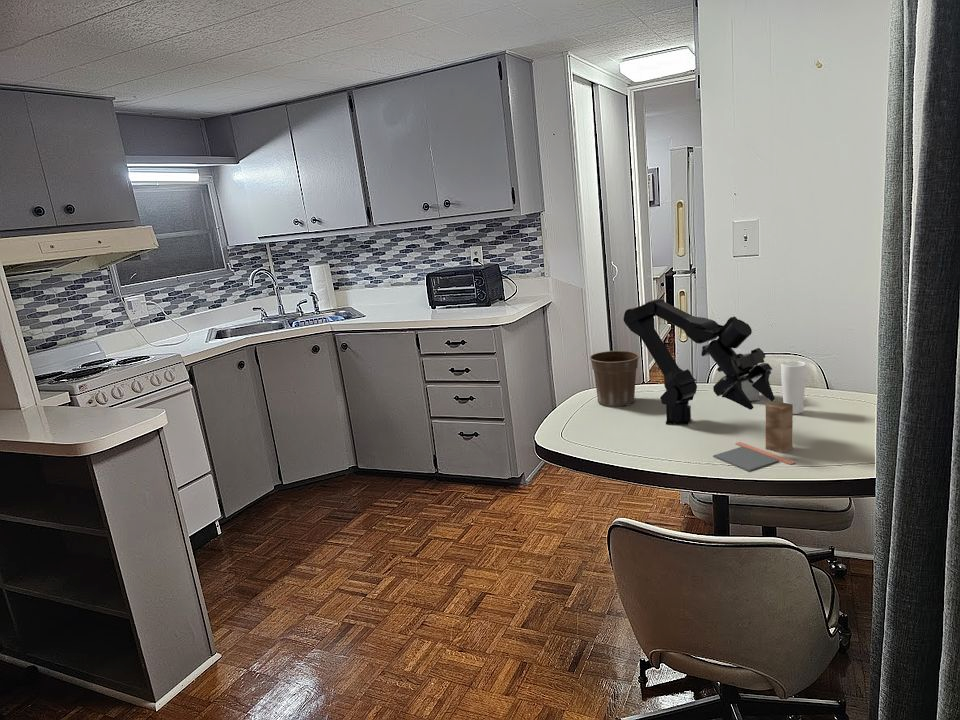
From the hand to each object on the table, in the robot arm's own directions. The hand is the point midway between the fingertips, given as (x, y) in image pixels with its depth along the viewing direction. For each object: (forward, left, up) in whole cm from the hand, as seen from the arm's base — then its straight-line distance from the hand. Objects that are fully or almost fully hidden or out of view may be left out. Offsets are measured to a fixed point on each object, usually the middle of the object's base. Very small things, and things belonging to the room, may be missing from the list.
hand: (762, 404), depth 176 cm
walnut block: (+4, -3, -11) cm, 12 cm away
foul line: (0, -6, -11) cm, 13 cm away
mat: (-4, -11, -11) cm, 16 cm away
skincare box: (-6, +41, -11) cm, 43 cm away
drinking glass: (+8, +28, -11) cm, 31 cm away
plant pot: (-46, +34, -11) cm, 58 cm away
